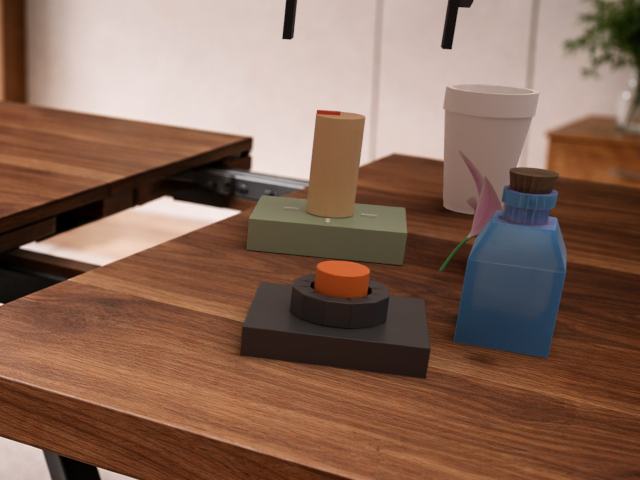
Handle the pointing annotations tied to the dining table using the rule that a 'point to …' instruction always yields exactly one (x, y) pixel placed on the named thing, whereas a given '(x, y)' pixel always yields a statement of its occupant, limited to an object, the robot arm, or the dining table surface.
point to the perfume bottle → (516, 270)
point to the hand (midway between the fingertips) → (365, 43)
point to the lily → (478, 205)
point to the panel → (328, 231)
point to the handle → (335, 163)
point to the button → (342, 279)
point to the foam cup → (483, 137)
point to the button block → (338, 329)
